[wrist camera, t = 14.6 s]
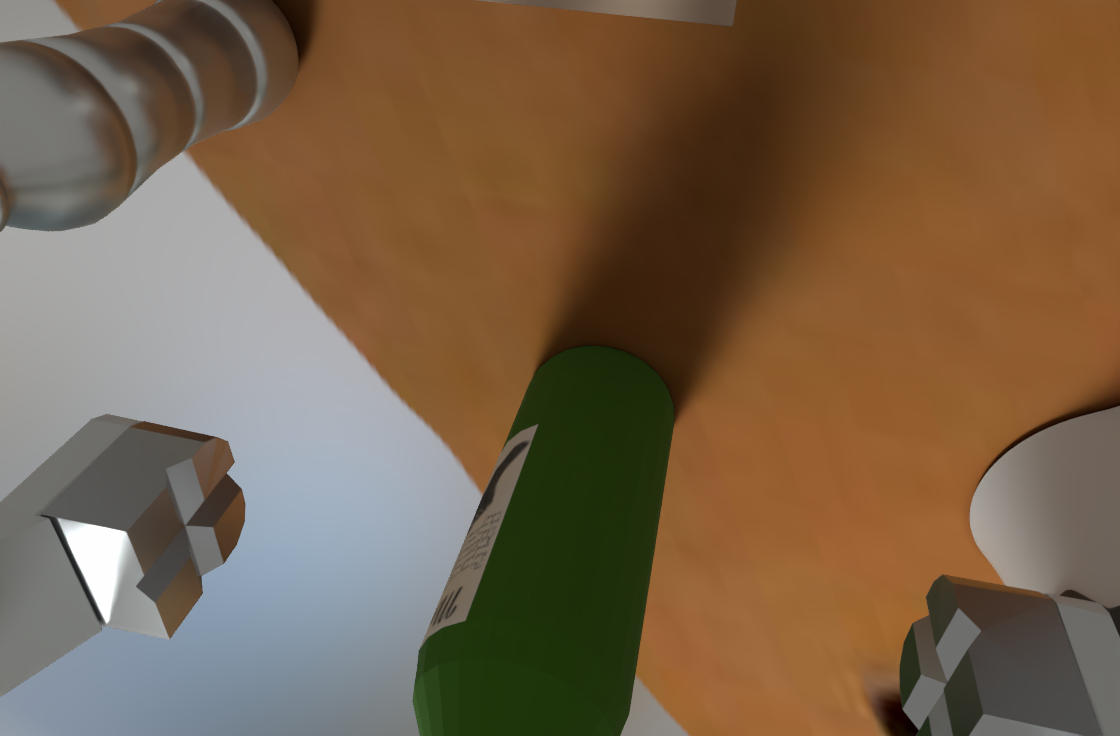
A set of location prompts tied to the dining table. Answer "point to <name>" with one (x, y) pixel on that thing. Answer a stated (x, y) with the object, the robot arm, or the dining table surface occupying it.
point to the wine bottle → (555, 560)
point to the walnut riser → (648, 8)
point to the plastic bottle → (130, 102)
